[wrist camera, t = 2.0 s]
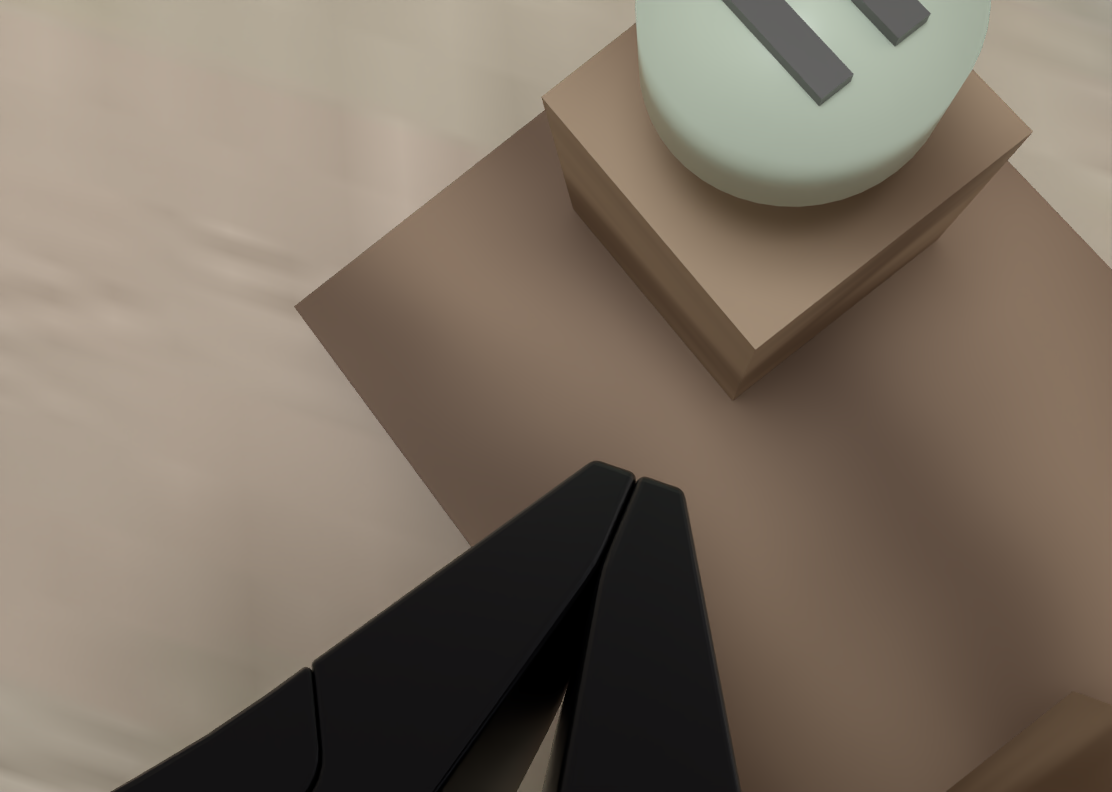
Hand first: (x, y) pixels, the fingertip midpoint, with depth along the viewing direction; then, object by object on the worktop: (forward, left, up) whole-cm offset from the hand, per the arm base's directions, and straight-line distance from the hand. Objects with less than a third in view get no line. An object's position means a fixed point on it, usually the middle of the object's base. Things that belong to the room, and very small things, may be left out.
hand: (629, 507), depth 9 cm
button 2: (+6, +4, -5) cm, 8 cm away
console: (+4, -3, -13) cm, 14 cm away
